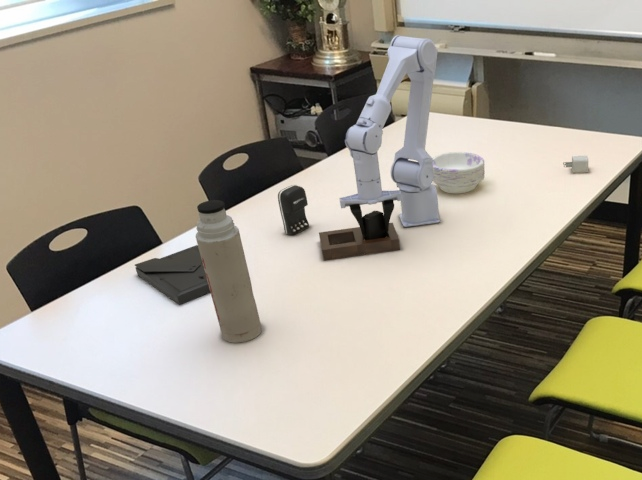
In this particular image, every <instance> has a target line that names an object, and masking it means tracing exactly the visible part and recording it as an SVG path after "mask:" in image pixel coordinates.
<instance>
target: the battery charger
mask: <svg viewBox="0 0 642 480" xmlns="http://www.w3.org/2000/svg"><path fill="white" fill-rule="evenodd" d="M277 201H278V206H279V211H280V216H281V220H282V224H283V230H284V233H285V234H286V235H292V236H293V235H294V236H295V235H298V234H300V233H302V232H304V231H305V230H307V229H308V228H309V227H310V223H309V221H308V219H307V216H306V210H305V208H306V207H307V206H308V198H307V193H306V190H305V189H304V188H303V186H300V185H297V184H291V185H289V186H286V187H285V188H282V189H280V190H279V192H278V194H277Z"/></svg>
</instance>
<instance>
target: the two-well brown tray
mask: <svg viewBox="0 0 642 480" xmlns="http://www.w3.org/2000/svg"><path fill="white" fill-rule="evenodd" d="M385 232H386V238H379V239H371V240H365V236H364V235H362V232H361V228H360V226H357V227H348V228H343V229H335V230H327V231H320V232H318V236H319V242H320V246H321V247H320V248H321V253H322V258H323V261H330V260H336V259H344V258H345V259H346V258H351V257H358V256H365V255H371V254H379V253H386V252H387V253H388V252H394V251H400V250H401V245H400V238H399V235H398V233H397V230H396V228H395V223H394V222H389V231H385Z"/></svg>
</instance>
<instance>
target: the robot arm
mask: <svg viewBox="0 0 642 480" xmlns="http://www.w3.org/2000/svg"><path fill="white" fill-rule="evenodd" d="M386 52H387V60H388V62H387V65H386V67H385V70H384V72H383V75H382V77H381V80H380V83H379V85H378V87H377V91H376V92H375V94H373V95H370V96H368V98H367V100H366V102H365V104H364V107H363V108H362V110H361V113H360V115H359V117H358V118H357V121H356V123H355V124H353V125H352V126H350V127H349V128H348V129H347V131H346V133H345V139H344V143H345V144H344V145H345V146H346V148H347V149H348V150H349V155H350V157H351V158H352V161H353V168H354V175H355V176H354V177H355V182H356V190H357V193H355V194H351V195H347V196H342V197H339V198H338V199H339V205H340V209H346V208H347V207H349V209H350V212H351V214H352V216H353V217H354V218H355V220H356V222H357V224H358V227H360V228H361V232H362V235H364V234H365V230H364V226H363V220H362V217H363V211H362V208H361V206H363V205H377V204H378V203H381V205H382V213H383V215H384V222H385V231H389V223H390V221H391V217H392V214H393V212H394V209H395V203H394V201H397V202H400V206H401V208H400V209H401V213H399V214H398V216H399V219H400V222H401V224H402V227H404V228H409V227H417V226H423V225H431V224H439V223H441V220H440V210H439V198H438V191H437V187H436V184H435V183H433V178H434V172H433V159H432V158H433V157H432V156H431V155H430V153H429V152H428V151H427V150H426V145H427V137H428V136H427V135H428V128H429V120H430V112H431V103H432V94H433V86H434V79H435V76H436V69H437V61H438V53H439V52H438V49H437V47H436V45H435V43H434V41H433V40H432V39H431V38H420V37H411V36H403V35H400V34H397V35H395V36H393V38H392V39H391V41H390V43H389V46H388V49H387V51H386ZM406 75H407V77H408V78H409V80H410V84H409V94H408V103H407V113H406V121H405V131H404V139H403V146H402V147H401V148H400V149H398V150H397V151H396V152H395V153H394V159H393V162H392V164H391V166H390V178H391V181H392V182H394V183H395V184H396V188H398V190H383V189H382V179H381V171H380V163H379V154H378V151H379V150H380V149H381V147H382V142H383V134H384V130H383V129H384V126H385V124H386V122H387V120H388V118H389V116H390V114H391V112H392V106H391V100H392V98H393V97H394V95H395V93H396V91H397V90H398V88H399V87H400V85H401V83H402V81H403V80H404V78H405V76H406Z"/></svg>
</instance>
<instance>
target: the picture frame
mask: <svg viewBox="0 0 642 480" xmlns="http://www.w3.org/2000/svg"><path fill="white" fill-rule="evenodd" d="M134 266H135V272H136V275H137V277H139V278H141V279H142V280H143V281H145V282H146V283H148V284H149V285H151V286H152V287H154V288H155V289H157V290H158V291H159V292H161V293H162V294H163V295H165V296H166V297H168V298H169V299H171V300H172V301H173V302H175V303H176V304H178V305H183V304H185V303H189V302H190V301H193V300H195V299H197V298H200V297H203V296H205V295H207V294H209V293H210V294H211V292H210V289H209V285H208V281H207V277H206V274H205V270H204V266H203V263H202V259H201V255H200V251H199V248H198V244H196V245H193V246H190V247H188V248H185V249H182V250H179V251H177V252H174V253H171V254H169V255H165V256H162V257H161V258H159V257H154V258H151V259H147V260H144V261H141V262H138V263H135V264H134Z"/></svg>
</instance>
